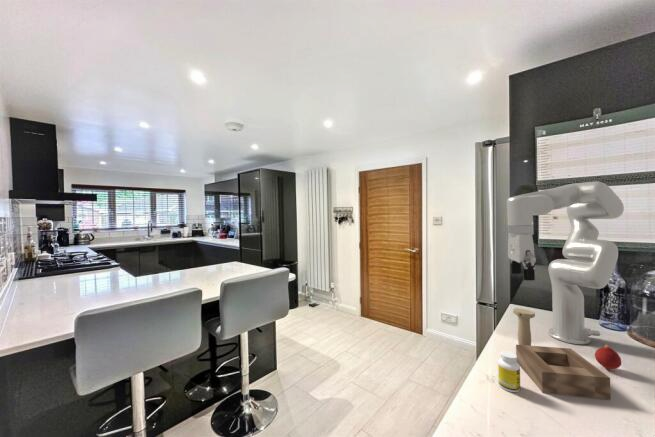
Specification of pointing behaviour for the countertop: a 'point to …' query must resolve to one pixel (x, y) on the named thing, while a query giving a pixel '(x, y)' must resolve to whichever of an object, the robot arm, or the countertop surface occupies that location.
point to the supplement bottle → (509, 372)
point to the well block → (562, 372)
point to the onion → (608, 358)
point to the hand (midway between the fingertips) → (522, 276)
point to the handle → (524, 325)
